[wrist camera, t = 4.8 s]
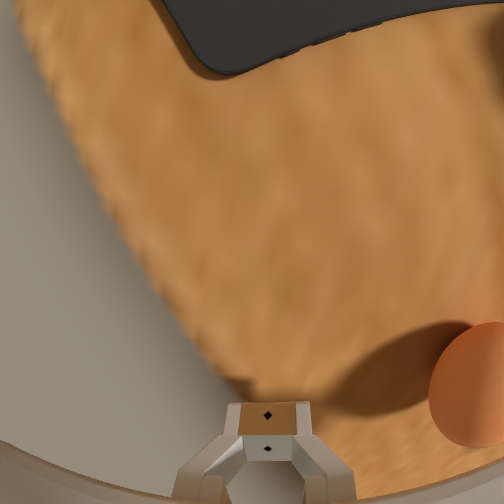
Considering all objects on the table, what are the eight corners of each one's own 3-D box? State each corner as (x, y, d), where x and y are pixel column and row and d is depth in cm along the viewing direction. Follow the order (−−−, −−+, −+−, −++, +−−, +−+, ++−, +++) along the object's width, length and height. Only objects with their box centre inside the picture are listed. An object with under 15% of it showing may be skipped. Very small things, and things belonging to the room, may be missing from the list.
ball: (428, 305, 11) (490, 399, 6) (517, 293, 11) (582, 360, 6) (401, 396, 13) (430, 485, 8) (484, 378, 13) (523, 448, 8)
